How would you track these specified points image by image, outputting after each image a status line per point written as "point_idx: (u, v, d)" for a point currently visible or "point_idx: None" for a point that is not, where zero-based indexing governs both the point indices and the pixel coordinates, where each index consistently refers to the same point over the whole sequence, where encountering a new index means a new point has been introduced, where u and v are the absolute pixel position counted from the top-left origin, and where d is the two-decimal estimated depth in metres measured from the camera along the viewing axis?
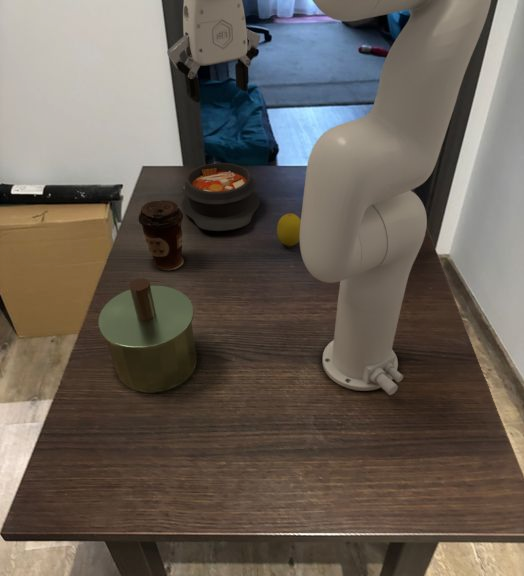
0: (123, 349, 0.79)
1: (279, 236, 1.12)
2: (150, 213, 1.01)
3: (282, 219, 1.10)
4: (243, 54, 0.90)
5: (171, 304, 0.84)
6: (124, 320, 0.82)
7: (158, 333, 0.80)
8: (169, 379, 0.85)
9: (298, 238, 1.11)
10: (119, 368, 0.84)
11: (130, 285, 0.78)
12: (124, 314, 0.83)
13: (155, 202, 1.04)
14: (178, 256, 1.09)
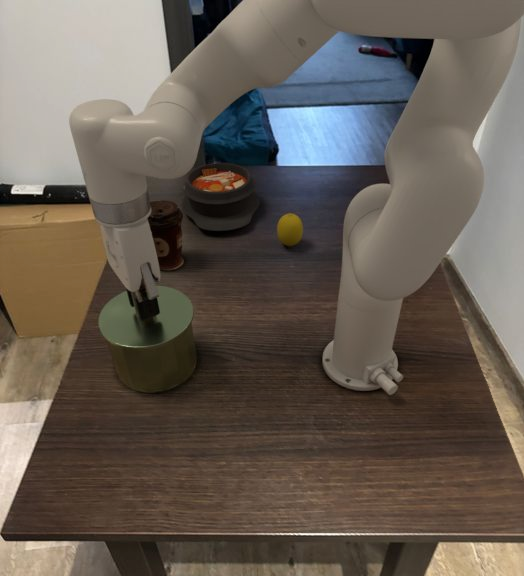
0: (123, 349, 0.79)
1: (279, 236, 1.12)
2: None
3: (282, 219, 1.10)
4: (128, 289, 0.73)
5: (171, 304, 0.84)
6: (124, 320, 0.82)
7: (158, 333, 0.80)
8: (169, 379, 0.85)
9: (298, 238, 1.11)
10: (119, 368, 0.84)
11: None
12: (124, 314, 0.83)
13: (155, 202, 1.04)
14: (178, 256, 1.09)
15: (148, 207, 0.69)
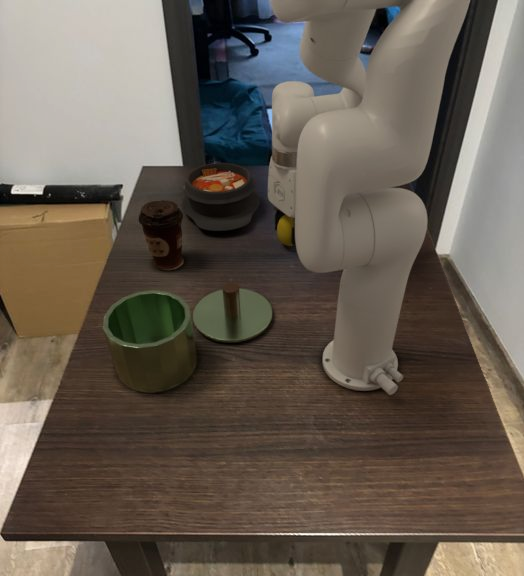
0: (123, 349, 0.79)
1: (279, 236, 1.12)
2: (150, 213, 1.01)
3: (282, 219, 1.10)
4: (290, 216, 1.05)
5: (252, 304, 1.00)
6: (214, 317, 0.97)
7: (245, 328, 0.95)
8: (169, 379, 0.85)
9: None
10: (119, 368, 0.84)
11: (223, 288, 0.93)
12: (214, 312, 0.98)
13: (155, 202, 1.04)
14: (178, 256, 1.09)
15: None
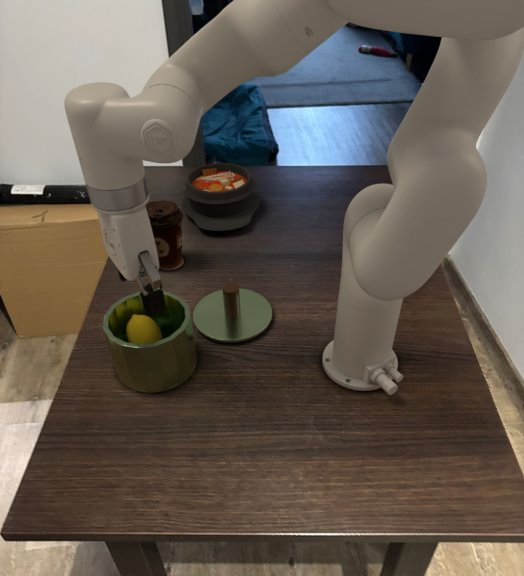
0: (123, 349, 0.79)
1: None
2: (150, 213, 1.01)
3: (127, 324, 0.88)
4: (126, 278, 0.72)
5: (252, 304, 1.00)
6: (214, 317, 0.97)
7: (245, 328, 0.95)
8: (169, 379, 0.85)
9: (151, 339, 0.87)
10: (119, 368, 0.84)
11: (223, 288, 0.93)
12: (214, 312, 0.98)
13: (155, 202, 1.04)
14: (178, 256, 1.09)
15: (146, 194, 0.68)
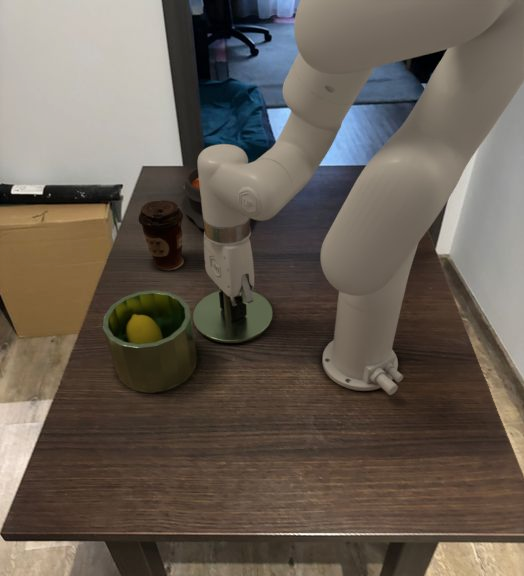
0: (123, 349, 0.79)
1: None
2: (150, 213, 1.01)
3: (127, 324, 0.88)
4: (228, 295, 0.89)
5: (252, 304, 0.99)
6: (215, 318, 0.97)
7: (246, 329, 0.95)
8: (169, 379, 0.85)
9: (151, 339, 0.87)
10: (119, 368, 0.84)
11: None
12: (214, 313, 0.98)
13: (155, 202, 1.04)
14: (178, 256, 1.09)
15: (250, 229, 0.84)
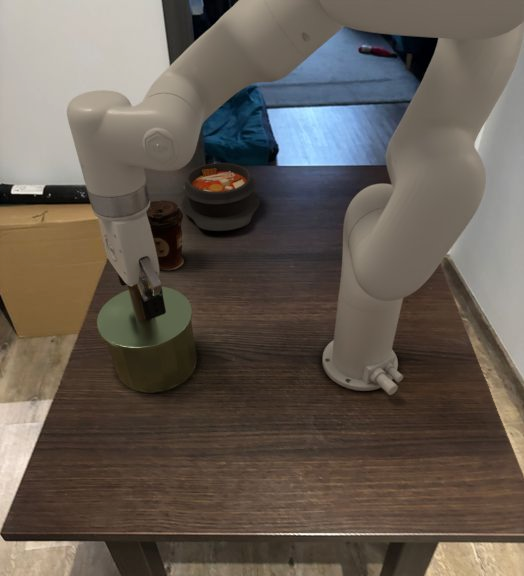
0: (123, 349, 0.79)
1: None
2: (150, 213, 1.01)
3: None
4: (127, 283, 0.73)
5: (169, 304, 0.84)
6: (122, 320, 0.82)
7: (157, 333, 0.80)
8: (169, 379, 0.85)
9: None
10: (119, 368, 0.84)
11: (128, 285, 0.78)
12: (123, 314, 0.83)
13: (155, 202, 1.04)
14: (178, 256, 1.09)
15: (147, 200, 0.68)
